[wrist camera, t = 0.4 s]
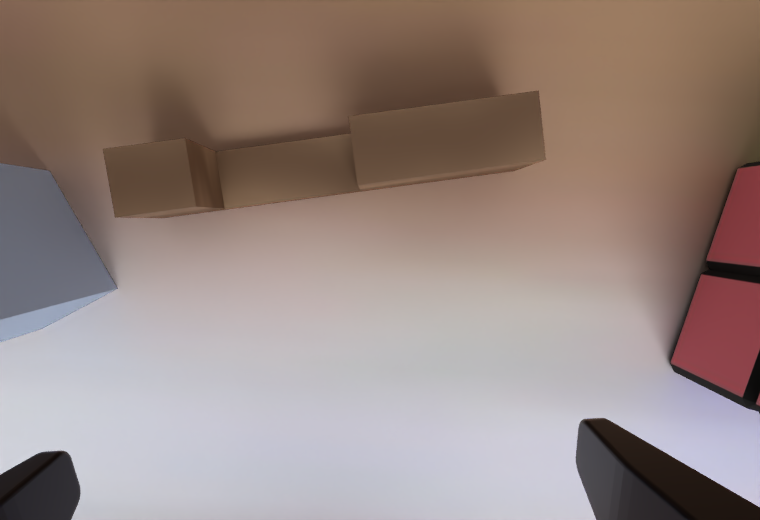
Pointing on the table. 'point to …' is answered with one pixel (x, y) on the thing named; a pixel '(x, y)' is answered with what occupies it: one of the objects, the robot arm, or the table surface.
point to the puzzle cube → (728, 302)
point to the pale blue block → (42, 254)
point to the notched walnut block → (330, 159)
